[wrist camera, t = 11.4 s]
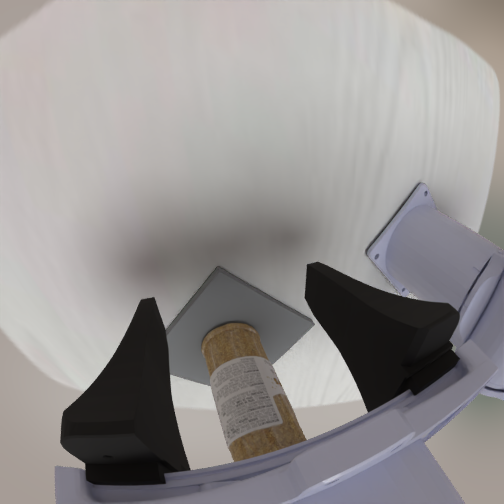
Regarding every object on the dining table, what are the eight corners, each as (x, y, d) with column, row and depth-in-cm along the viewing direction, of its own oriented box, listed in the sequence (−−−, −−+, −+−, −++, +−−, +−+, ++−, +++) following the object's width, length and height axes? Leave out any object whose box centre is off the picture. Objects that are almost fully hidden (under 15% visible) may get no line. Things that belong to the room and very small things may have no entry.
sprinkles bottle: (261, 351, 22) (332, 499, 10) (207, 366, 21) (257, 524, 9) (254, 311, 19) (345, 490, 8) (192, 329, 18) (246, 524, 7)
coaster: (311, 319, 22) (314, 324, 22) (237, 388, 24) (239, 393, 24) (217, 266, 17) (219, 271, 17) (142, 359, 19) (143, 364, 19)
